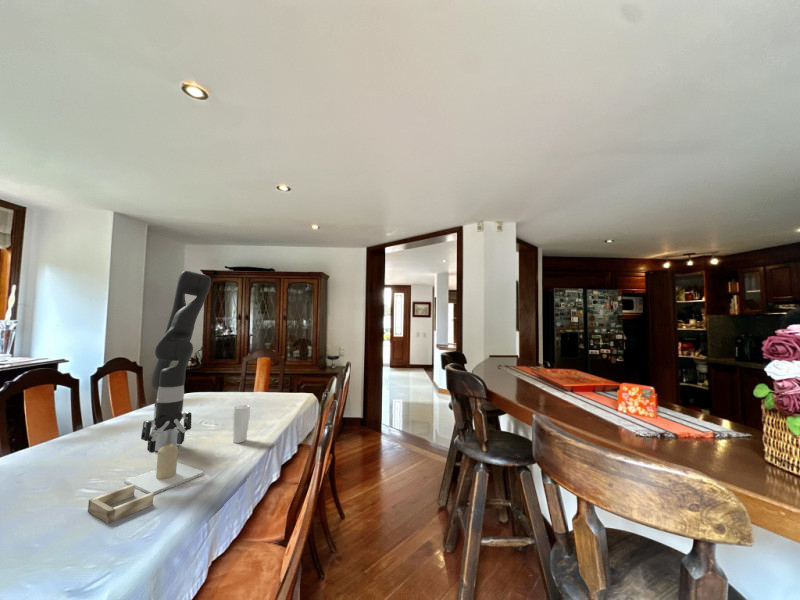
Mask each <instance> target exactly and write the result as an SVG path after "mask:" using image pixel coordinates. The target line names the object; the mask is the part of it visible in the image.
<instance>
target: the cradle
mask: <svg viewBox="0 0 800 600" xmlns="http://www.w3.org/2000/svg"><path fill="white" fill-rule="evenodd" d="M135 489H136V488H135V485H134V484H132V485H127V486H124V487H121V488H119V489H115V490H112V491H109V492H107V493H103V494H102V495H99V496H95V497H93V498H91V499H88V503H87V512H88V513H90V514H92V515H93V516H95V517H96V518H98V519H100V520H101V521H103V522H105V523H106V524H111V523H113V522H116V521H118V520H121V519H124V518H126V517H127V516H129V515H132V514H134V513H136V512H139V511H142V510H144V509H146V508H148V507H151V506H153V504H154V496H155V494H153V493H149V494H147V493H146V494H144V495H141V496H140V497H137V498H134V499H132V500H129V501H127V502H125V503H122V504H119V505H117V506H114V507H112V506H110V505H113V504H115V503H118V502H121V501H123V500H126V499H129V498H132V497H134V496H135Z"/></svg>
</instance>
